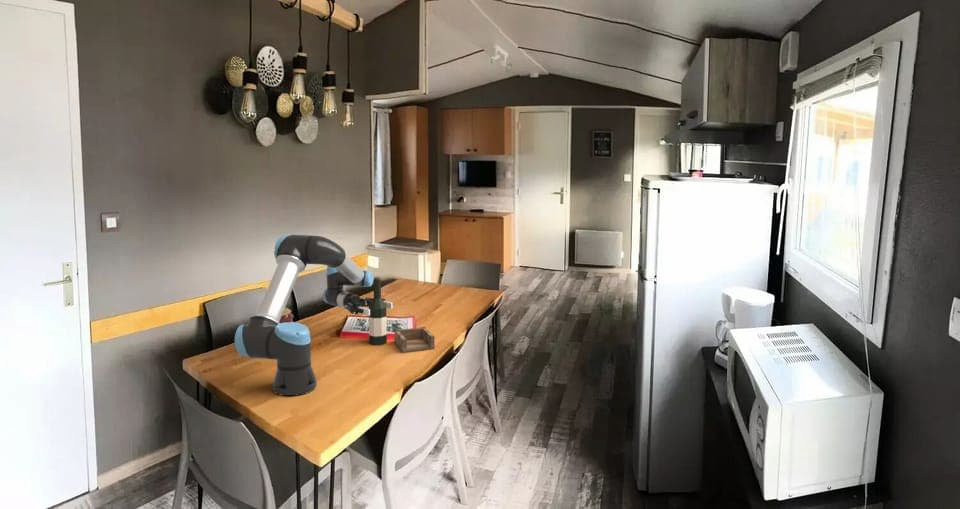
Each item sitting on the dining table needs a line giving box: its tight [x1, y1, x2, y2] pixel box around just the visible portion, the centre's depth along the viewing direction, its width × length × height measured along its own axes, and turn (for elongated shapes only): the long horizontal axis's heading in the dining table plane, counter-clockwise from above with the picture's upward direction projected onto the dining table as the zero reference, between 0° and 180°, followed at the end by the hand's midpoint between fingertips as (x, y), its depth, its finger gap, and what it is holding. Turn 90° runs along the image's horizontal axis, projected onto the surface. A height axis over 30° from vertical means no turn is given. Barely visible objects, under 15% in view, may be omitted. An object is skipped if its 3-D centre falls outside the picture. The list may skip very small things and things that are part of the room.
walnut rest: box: [394, 326, 435, 354], centre depth 247 cm, size 14×14×6 cm
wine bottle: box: [368, 276, 388, 346], centre depth 248 cm, size 8×8×30 cm
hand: (381, 309), depth 247 cm, fingers open, 13 cm apart
